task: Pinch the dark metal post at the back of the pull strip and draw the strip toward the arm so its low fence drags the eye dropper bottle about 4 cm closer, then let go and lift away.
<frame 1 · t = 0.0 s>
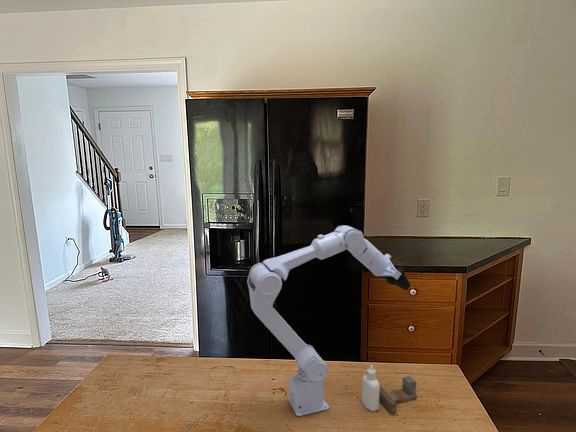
hand: (399, 283, 112), 32 cm above the table, tool tilted 50°, fingers open, 7 cm apart
pull strip: (396, 390, 110), point 3 cm above the table, slide at 0.0 cm
eye dropper bottle: (370, 406, 108), on the table
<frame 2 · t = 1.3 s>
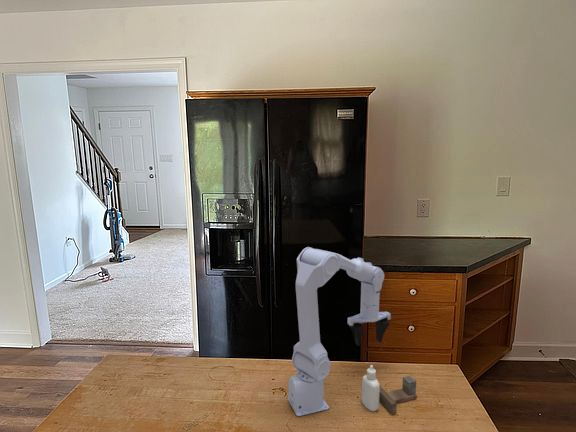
hand: (368, 342, 124), 9 cm above the table, tool pointing down, fingers open, 7 cm apart
nothing on the table moved.
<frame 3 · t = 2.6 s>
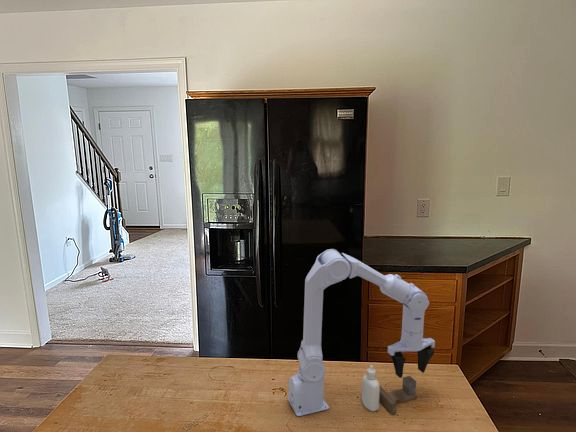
hand: (410, 373, 111), 7 cm above the table, tool pointing down, fingers open, 7 cm apart
nothing on the table moved.
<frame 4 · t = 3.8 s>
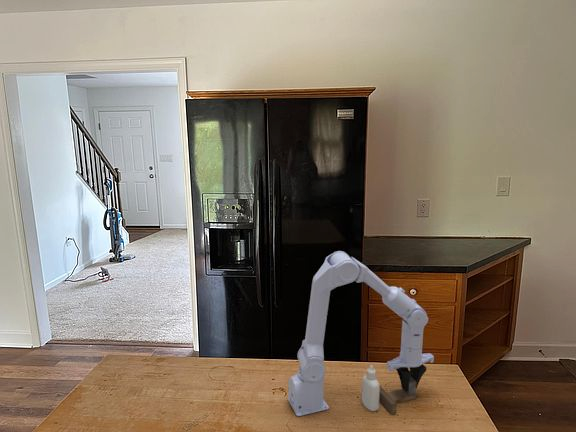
hand: (409, 388, 111), 2 cm above the table, tool pointing down, fingers closed on pull strip, 2 cm apart
pull strip: (396, 390, 110), point 3 cm above the table, slide at 0.0 cm, touching gripper
everything else where it was.
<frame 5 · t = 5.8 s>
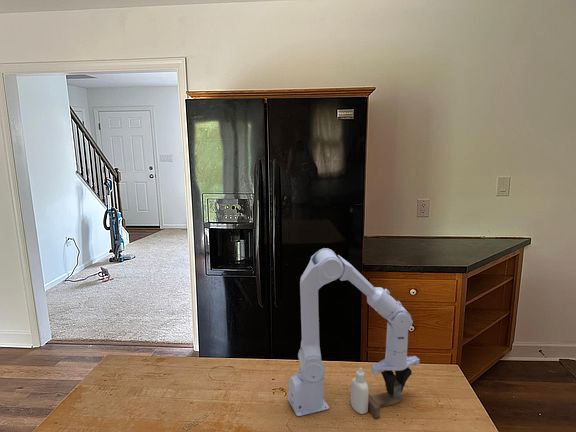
hand: (394, 391, 110), 2 cm above the table, tool pointing down, fingers closed on pull strip, 2 cm apart
pull strip: (381, 393, 108), point 3 cm above the table, slide at 5.0 cm, touching gripper
eye dropper bottle: (359, 408, 107), on the table
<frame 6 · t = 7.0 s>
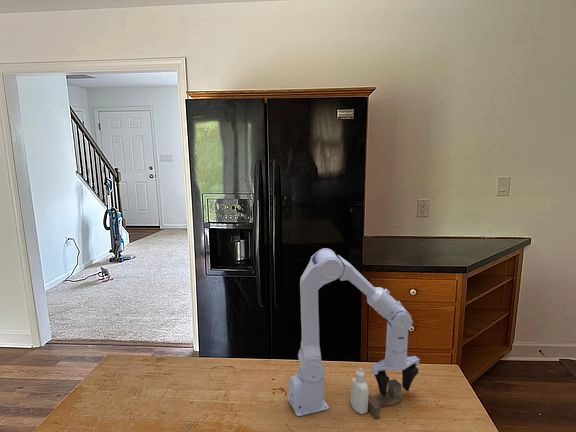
hand: (394, 391, 110), 2 cm above the table, tool pointing down, fingers open, 7 cm apart
pull strip: (381, 393, 108), point 3 cm above the table, slide at 5.0 cm
everything else where it was.
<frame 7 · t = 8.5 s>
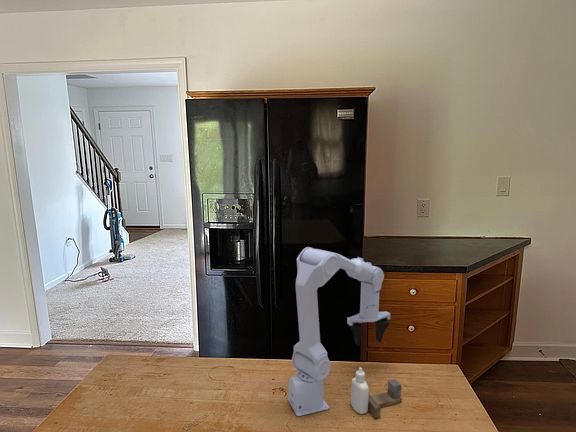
hand: (368, 342, 124), 9 cm above the table, tool pointing down, fingers open, 7 cm apart
nothing on the table moved.
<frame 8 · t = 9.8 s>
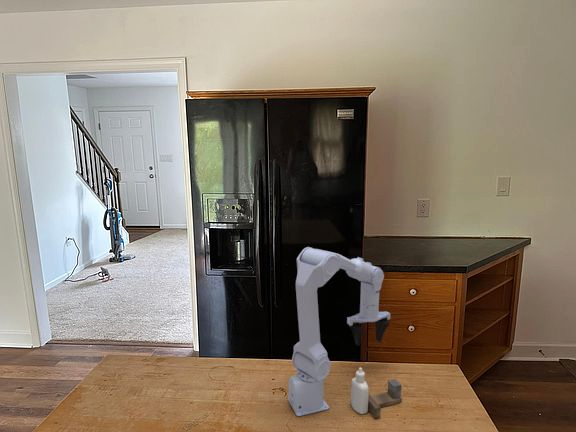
hand: (368, 342, 124), 9 cm above the table, tool pointing down, fingers open, 7 cm apart
nothing on the table moved.
at the end: pull strip slide at 5.0 cm; eye dropper bottle inside the target area (1.8 cm from its centre), on the table; eye dropper bottle tilted 0° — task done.
